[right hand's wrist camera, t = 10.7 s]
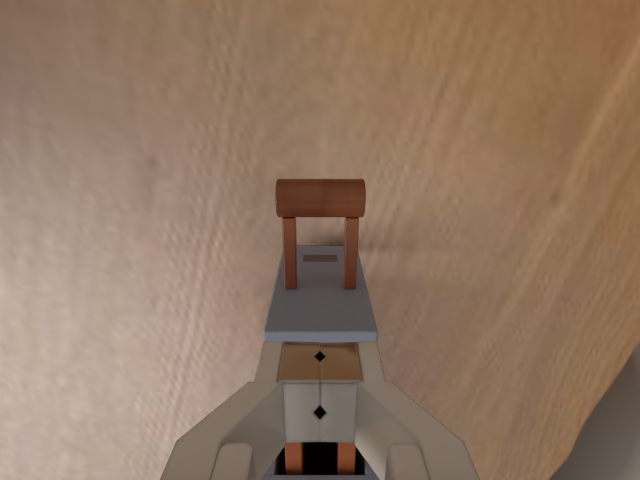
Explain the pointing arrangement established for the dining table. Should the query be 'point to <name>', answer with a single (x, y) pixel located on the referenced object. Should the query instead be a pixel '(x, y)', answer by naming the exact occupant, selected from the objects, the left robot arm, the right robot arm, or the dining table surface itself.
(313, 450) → the drawer
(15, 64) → the dining table surface
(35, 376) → the dining table surface
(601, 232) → the dining table surface
